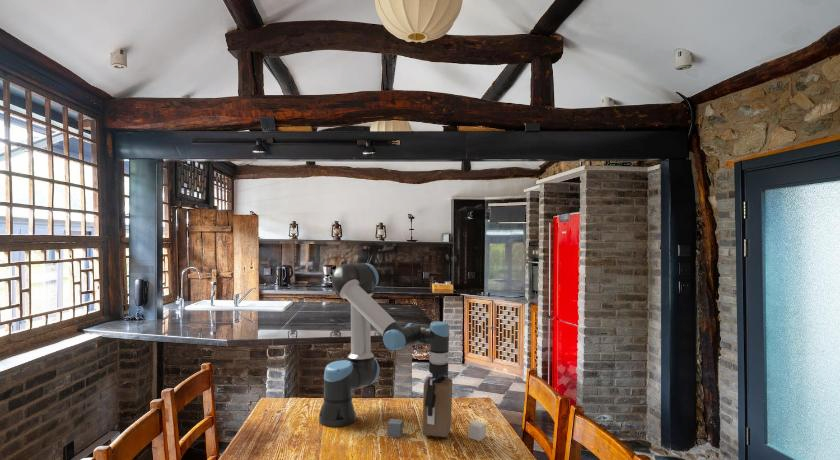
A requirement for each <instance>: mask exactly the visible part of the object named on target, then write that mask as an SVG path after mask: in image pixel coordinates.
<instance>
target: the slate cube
mask: <svg viewBox="0 0 840 460" xmlns="http://www.w3.org/2000/svg"><path fill="white" fill-rule="evenodd" d="M386 427H387V428H386V431H387V432H386V437H391V438H393V437H394V438H401V437H402V434H403V433H404V432H403V431H404V419H399V418H397V419H396V418H390V419H389V420H388V422H387V425H386Z"/></svg>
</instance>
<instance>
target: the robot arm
mask: <svg viewBox="0 0 840 460" xmlns="http://www.w3.org/2000/svg"><path fill="white" fill-rule="evenodd" d="M379 277H380V276H379V273H378V271H377V269H376V268H375V266H374V265H372V264H371V263H365V262H357V263H343V264H339V265H338V266H337V267H336V268H335V269H334V270H333V272H332V275H331V285H332V288H333V290H334V291H335V292H336V293H337V294H338V296H340V298H341V299H343V300H344V299H346V300H347V301H348V303H350V353H349V354H348V355H347V359H342V360H335V361H331V362H329V363H327V365H326V366H325V368H324V372H323V373H324V374H323V402H322V406H321V409H320V412H319V414H318V422H319V424H321V425H323V426H326V427H344V426H348V425H351V424H353V423H355V421H356V419H357V412H356V411H355V406H354V402H353V391H356V390H358V389H361V388H365V387H368V386H370V385H372V384H374V383H375V382H376V381H377V380H378V378H379V375H380V371H381V370H380V368H381V367H380V364H379V363H378V360H377V359H376V358H375V354H374V353H372V349H371V347H372V344H371V340H372V339H371V325H372V327H373V329H375V330H376V331H377V332H378V333H379V334H380V335H381V336H382V342H383V344H384V346H385V348H386V349H387V350H389V351H398V350H401V349H404V348H407V347H411V346H414V345H419V344H420V345H424V346H425V345H426V346H429V354H428V355H429V356H428V360H429V362H428V363H429V364H428V372H429V373H430V374H432V376H431V377H432V379H429V380H428V389H427V395H426V401H425V406H426V407H428V412H427V423H428V424H432V425H434V424H435V407H434V404H435V400H436V394H434V390H435V384H436V383H438V382H439V383H441V382H442V380H443V381H444V380H445V378H449V358H450V355H449V350H450V349H449V348H450V335H451V333H450V324H449V323H448V322H446V321H431V323H430V324H429V325H428V324H422V323H417V322H415V323H414V322H408V323H406V325H405V326H404V327H402V326H401V325H400V324H399V323H398V322H397V321H396V320H395V319H394V318H393V317H392V316H391V315H390V313H388V312H387V311H386V310H385V309H384V308H383V307H381V305H379V303H378V302H377V301H375V299H374V298H373V297H372V296H373V295H374V289H375V288H376V287H377V286H378V284H379Z"/></svg>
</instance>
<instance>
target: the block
mask: <svg viewBox="0 0 840 460" xmlns="http://www.w3.org/2000/svg"><path fill="white" fill-rule="evenodd" d="M429 379H432V376H428V377H427V379H426V380H425V381H424V384H423V394H422V395H423V396H422V397H423V398H422V399H423V401H422V429H421V430H422V431H421V432H422V435H423V436H430V437H431V436H432V437H439V438H440V437H441V438H447V437H449V433H450V431H451V429H452V411H453V410H452V408H453V407H452V406H453V403H452V402H453V379H452V378H449V377H448V378H445V380H444V381H443V380H442V382H441V383H439V382H438V383H436V384H435V390H434V394H436V400H435V404H434V407H435V424H434V425H432V424H428V423H427V412H428V407H426V406H425V401H426V395H427V389H428V380H429Z"/></svg>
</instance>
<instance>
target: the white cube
mask: <svg viewBox="0 0 840 460" xmlns="http://www.w3.org/2000/svg"><path fill="white" fill-rule="evenodd" d="M467 429H468V430H467V431H468V432H467V438H469V439H473V440H476V441H478V442H479V441H482V440H483V439H484V438H486V437H487V424H486V423H484V422H481V421H478V420H473V421H472V422H471V423H469V424H468V425H467Z"/></svg>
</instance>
